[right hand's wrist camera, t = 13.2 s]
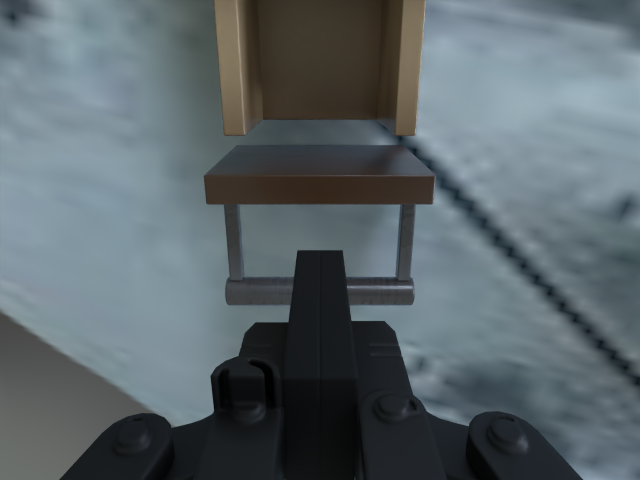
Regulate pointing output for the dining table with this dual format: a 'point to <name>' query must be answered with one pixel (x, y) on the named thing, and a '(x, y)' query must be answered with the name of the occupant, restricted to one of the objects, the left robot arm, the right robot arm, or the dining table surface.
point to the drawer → (319, 104)
